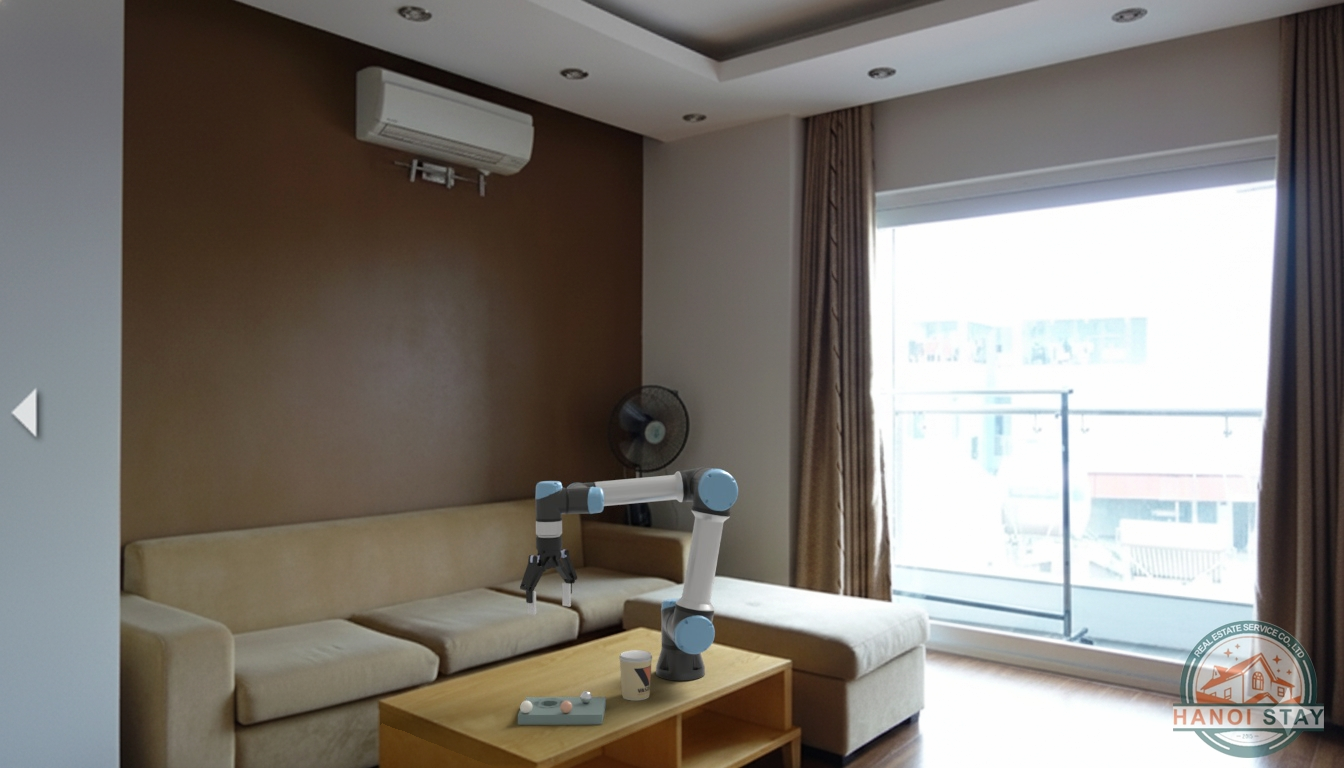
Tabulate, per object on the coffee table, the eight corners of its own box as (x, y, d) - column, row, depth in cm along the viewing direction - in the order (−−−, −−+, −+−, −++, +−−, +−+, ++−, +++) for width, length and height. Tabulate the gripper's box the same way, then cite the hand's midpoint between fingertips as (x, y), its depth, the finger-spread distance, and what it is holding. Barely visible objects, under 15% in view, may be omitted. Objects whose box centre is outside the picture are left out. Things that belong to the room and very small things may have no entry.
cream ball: (533, 711, 252) (533, 698, 252) (531, 715, 249) (531, 702, 249) (521, 711, 252) (521, 698, 252) (519, 715, 249) (519, 702, 249)
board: (605, 705, 264) (605, 696, 264) (602, 724, 249) (602, 714, 249) (526, 706, 264) (526, 697, 264) (517, 724, 249) (517, 715, 249)
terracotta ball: (573, 710, 252) (573, 698, 252) (571, 714, 249) (571, 702, 249) (560, 711, 252) (560, 698, 252) (559, 715, 249) (559, 702, 249)
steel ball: (592, 701, 260) (592, 689, 260) (591, 705, 257) (591, 693, 257) (580, 701, 260) (580, 689, 260) (579, 705, 257) (579, 693, 257)
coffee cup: (640, 703, 266) (640, 660, 266) (613, 698, 271) (612, 655, 271) (658, 694, 274) (658, 652, 274) (631, 689, 279) (631, 648, 279)
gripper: (570, 529, 285) (571, 600, 285) (506, 539, 266) (507, 616, 266) (588, 531, 281) (589, 604, 280) (525, 542, 261) (525, 619, 261)
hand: (549, 610), depth 273 cm, fingers open, 13 cm apart
